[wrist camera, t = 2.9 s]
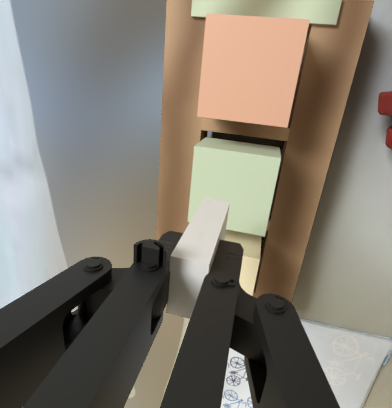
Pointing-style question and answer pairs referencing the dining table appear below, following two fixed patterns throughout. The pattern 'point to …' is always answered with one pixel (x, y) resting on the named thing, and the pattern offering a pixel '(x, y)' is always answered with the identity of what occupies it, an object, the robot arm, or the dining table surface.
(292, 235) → the board
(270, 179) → the pale green square block
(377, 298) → the dining table surface
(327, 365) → the printed paper napkins
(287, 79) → the salmon orange square block
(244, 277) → the cream yellow square block
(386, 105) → the toy fire truck
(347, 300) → the dining table surface
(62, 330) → the robot arm
